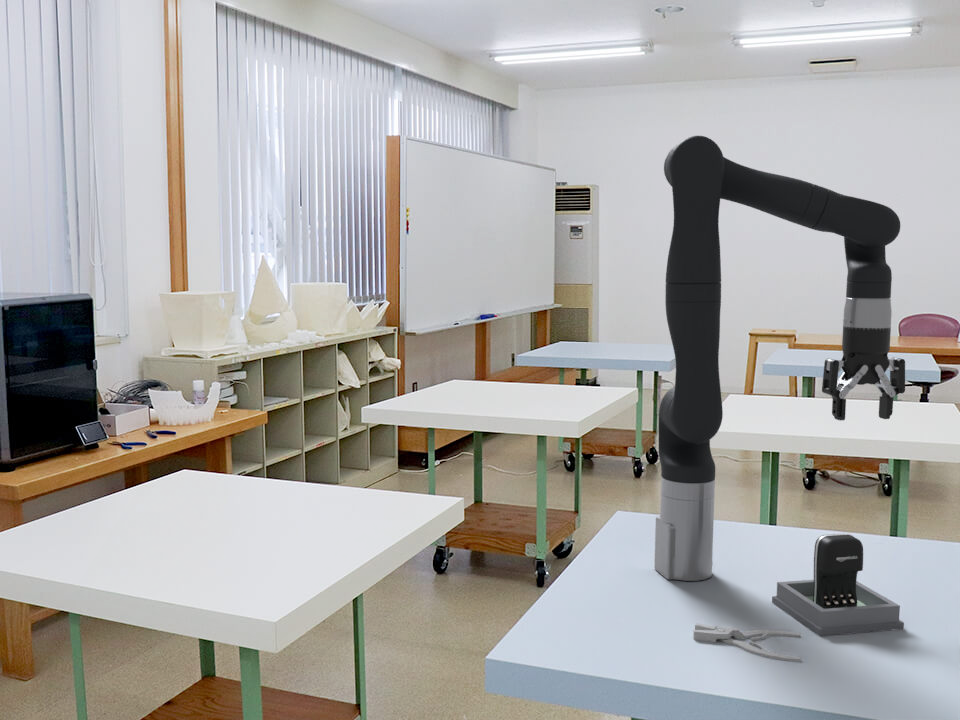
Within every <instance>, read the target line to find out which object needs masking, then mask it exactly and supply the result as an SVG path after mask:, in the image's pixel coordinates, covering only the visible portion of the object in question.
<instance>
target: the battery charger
mask: <svg viewBox="0 0 960 720" xmlns="http://www.w3.org/2000/svg"><path fill="white" fill-rule="evenodd" d="M815 540H816V541H815V543H814V552H813V553H814V554H813V580H814V591H813V602H814V603H816V604H817V605H819V606H820V607H822V608H823V609H829V608H842V607H855V606H857V596H856V581H857V578H858V577H857V576H858V572H862V571H864V546H863V543H862V541H861V540H860V539H859V538H856V537H855V536H854V535H852V534H850V533H832V534H823V535H821V536H819V537H817V539H815Z"/></svg>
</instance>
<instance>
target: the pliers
mask: <svg viewBox="0 0 960 720" xmlns="http://www.w3.org/2000/svg"><path fill="white" fill-rule="evenodd" d="M801 635H802V634H801V633H797V632H793V631H792V632H791V631H785V630H772V629H753V630H746V631H740V630H739V629H738V628H735V627H733V626H732V627H731V626H728V627H727V626H726V627H723V628H722V627H721V628H718V626H717V625H709V624H703V623H695V624H694V629H693V635H692V638H693V640H694V641H703V642H704V641H705V642H713V643H716V642H717V641H721V642H722V643H724V644H728V645H732V646H733V647H734V646H735V647H738V648H740V649H741V650H744V651H745V652H747V653H750V654H753V655H757V656H761V657H764V658H770V659H775V660H778V661H779V660H781V661H788V662H797V663H798V662H800V663H801V662H802V657H798V656H793V655H786V654H781V653H776V652H772V651H768V650H767V649H766V648H765V647H764V646H763V645H761V644H759V643H757V642H755V641H761V640H764V639H766V638H768V637H769V636H773V637H774V636H775V637H793V638H801V637H802V636H801ZM733 638H735V639H733ZM749 638H750V643H747V642H744V641H741V640H739V639H749Z"/></svg>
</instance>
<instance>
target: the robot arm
mask: <svg viewBox="0 0 960 720" xmlns="http://www.w3.org/2000/svg"><path fill="white" fill-rule="evenodd" d="M663 163H664V164H663V171H664V172H663V174H664V176H665V179H666V181H667V183H668V184H669V185H670V187H671V189H672V190H671V191H672V202H673V226H672V227H673V228H672V233H671V239H670V244H669V250H668V255H667V261H666V272H665V314H666V315H665V316H666V320H667V321H666V322H667V325H668V331H669V336H670V340H671V343H672V347H673V352H674V357H675V358H674V359H675V378H674V379H675V382H674V386H673V387H672V388H670V389H669V390H668V391H666V393H665V394H664V395H663V397H662V398H661V402H660V405H659V408H658V456H659V462H660V469H661V470H660V471H661V472H660V476H661V477H660V507H659V510H660V512H659V516H656V517H655V529H654V530H655V533H654V534H655V537H654V570H656V571H657V572H658V573H659V574H661V575H662V576H663V577H664V578H665V579H666V580H678V581H686V582H693V581H694V582H698V581H704V580H707V579H709V578H711V577H712V575H713V565H714V564H713V554H714V553H713V552H714V550H713V549H714V546H713V545H714V521H715V518H714V517H715V492H716V491H715V489H716V464H715V461H714V458H713V454H712V451H711V439H713V438H714V437H715V436H716V435H717V433H718V432H719V429H720V428H721V425H722V421H723V414H724V413H723V402H722V401H723V400H722V399H723V398H722V389H721V379H720V368H719V367H720V365H719V361H720V360H719V355H720V352H719V351H720V339H721V338H720V336H721V335H720V334H721V308H722V307H721V304H722V269H721V267H722V266H721V260H722V259H721V243H720V241H721V240H720V229H719V219H720V218H719V217H720V205H721V199H722V200H725V201H729V202H732V203H737V204H740V205H742V206H743V205H744V206H747V207H750V208H751V209H752V208H753V209H754V210H759V211H761V212H764V213H766V214H768V215H770V216H774V217H777V218H780V219H782V220H784V221H788V222H790V223H793V224H796V225H799V226H801V227H806V228H808V229H811V230H814V231H818V232H823V233H824V232H825V233H833V234H835V235H837V236H841V237H843V242H844V243H843V245H844V254H845V261H846V267H847V276H846V292H845V304H844V309H843V319H842V322H843V323H842V340H841V341H842V342H841V350H842V358H841V360H839V359H838V360H837V359H832V358H826V359H825V360H824V366H823V367H824V368H823V375H822V384H821V385H822V386H821V392H822V394H825V395H827V396H830V397H831V398H832V405H831V406H832V407H831V413H832V414H831V415H832V417H833V418H834V419H835V420H837V421H845V419H846V411H847V410H846V409H847V408H846V407H847V405H846V404H847V399H846V397H847V396H848V394H849V392H850V391H851V390H853V389H855V387H856V386H857V385H860V386H862V385H863V386H864V385H867V384H868V385H873V386H875V387H876V389H877V390H878V391H879V393H880V394H881V395H880V396H879V403H878V418H880V419H883V420H889V419H890V418H891V416H892V415H893V411H894V410H893V409H894V398H895V396H896V395H899V394H904V393H905V391H906V361H905V359H903V358H899V357H891V358H889V357H888V353H889V352H890V349H891V333H892V332H891V330H892V329H891V328H892V316H893V315H892V314H893V313H892V299H891V298H892V279H893V277H892V275H893V274H892V268H891V266H890V265H889V264H888V263H887V260H886V259H887V258H886V247H887V246H888V245H890V244H891V243H893V242H894V241H895V240H896V239H897V237H898V236H899V234H900V231H901V220H900V217H899V216H898V214H897V213H896V211H894V210H893V209H892V208H891V207H889V206H887V205H884V204H881V203H879V202H875V201H872V200H868V199H864V198H860V197H859V198H858V197H856V196H855V197H854V196H849V195H845V194H842V193H839V192H836V191H834V190H832V189H829V188H826V187H823V186H821V185H818V184H814V183H811V182H808V181H805V180H802V179H798V178H794V177H790V176H786V175H781V174H776V173H772V172H767V171H763V170H758V169H755V168H751V167H748V166H745V165H742V164H739V163H737V162H735V161H733V160H730V159H728V158H727V157H725V156H724V155H723V152H722V149H721V148H720V147H719V145H718V143H716V142H715V141H714V140H712V139H711V138H710V137H708V136H703V135H692V136H688V137H686V138H684V139H683V140H680V141H679V142H678V143H677V144H675V145H674V146H673V147H672V148H671V149H670V150H669V152H668V154H667V155H666V158H665V159H664V162H663ZM841 370H842V371H843V373H842V374H841V376H840V377H839V372H840V371H841ZM887 370H889V377H890V378H889V377H888V375H886V373H885V372H887Z"/></svg>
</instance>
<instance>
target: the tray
mask: <svg viewBox="0 0 960 720" xmlns="http://www.w3.org/2000/svg"><path fill="white" fill-rule="evenodd" d="M813 591H814V579H806V580H805V579H804V580H790V581H789V580H788V581H777V583H776V595H772V596H771V602H772V603H771V604H773V605H775V606H777V608H779V609H781V610H782V611H783V612H785V613H786V614H788V615H789V616H790V617H791V618H793V619H795V620H796V621H797V622H799V623H800V624H802V625H803V626H804V627H806V628H807V629H808V630H810V631H812V632H813V633H815V634H816V635H817V636H818V637H822V636H823V637H824V636H825V637H826V636H838V634H839V635H849V633H851V634H860V633H861V632H863V633H871V632H870V631H875V632H882V631H881V630H887V631H893V630H892V629H898V630H904V629H905V628H904V627H905V622H904V621H902V620H901V619H900V610H901V609H900V608H901V606H900V605H899V604H898V603H896V602H894V601H892V600H891V599H889V598H888V597H886V596H884V595H882V594H880V593H879V592H877V591H875V590H873V589H872V588H870V587H868V586H866V585H864V584H862V582H859V581H857V580H856V596H857V606H855V607H842V608H829V609H823V608H822V607H820V606H819V605H817V604H816V603H814V602H813Z"/></svg>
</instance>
